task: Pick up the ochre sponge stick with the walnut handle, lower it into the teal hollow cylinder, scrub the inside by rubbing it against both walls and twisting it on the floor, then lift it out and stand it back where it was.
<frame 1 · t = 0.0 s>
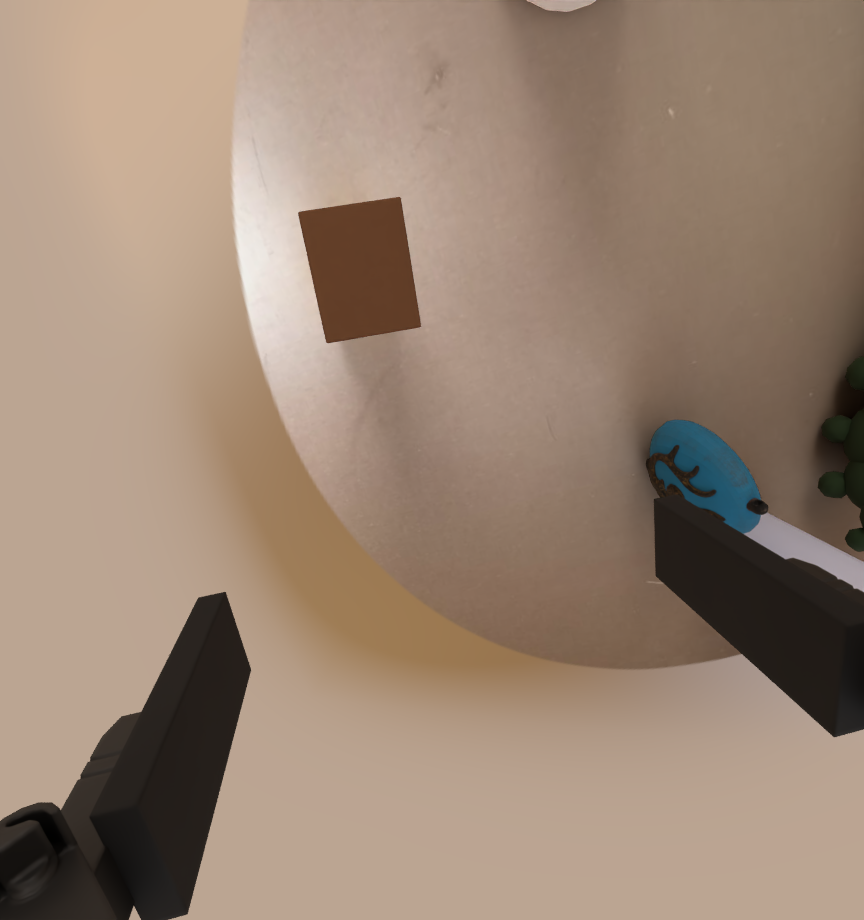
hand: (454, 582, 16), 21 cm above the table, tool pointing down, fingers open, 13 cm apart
spray bottle: (731, 536, 42), on the table
sponge: (357, 281, 32), on the table
ornament: (661, 459, 39), on the table
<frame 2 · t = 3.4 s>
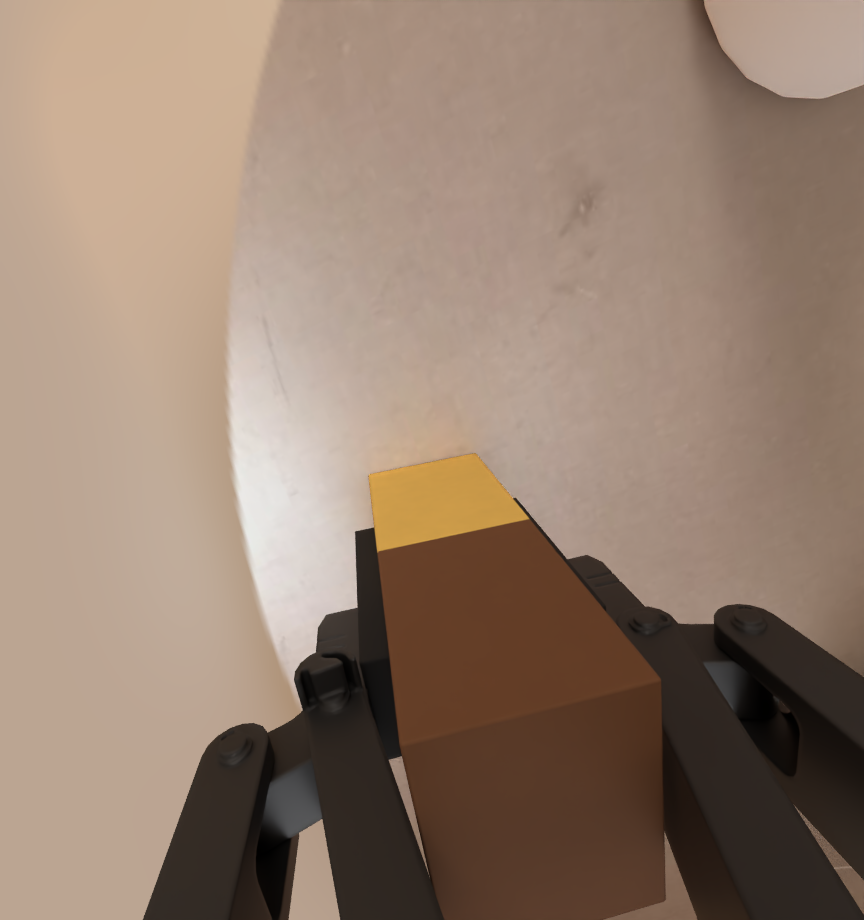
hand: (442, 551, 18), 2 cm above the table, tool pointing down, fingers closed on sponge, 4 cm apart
sponge: (433, 524, 20), on the table, touching gripper
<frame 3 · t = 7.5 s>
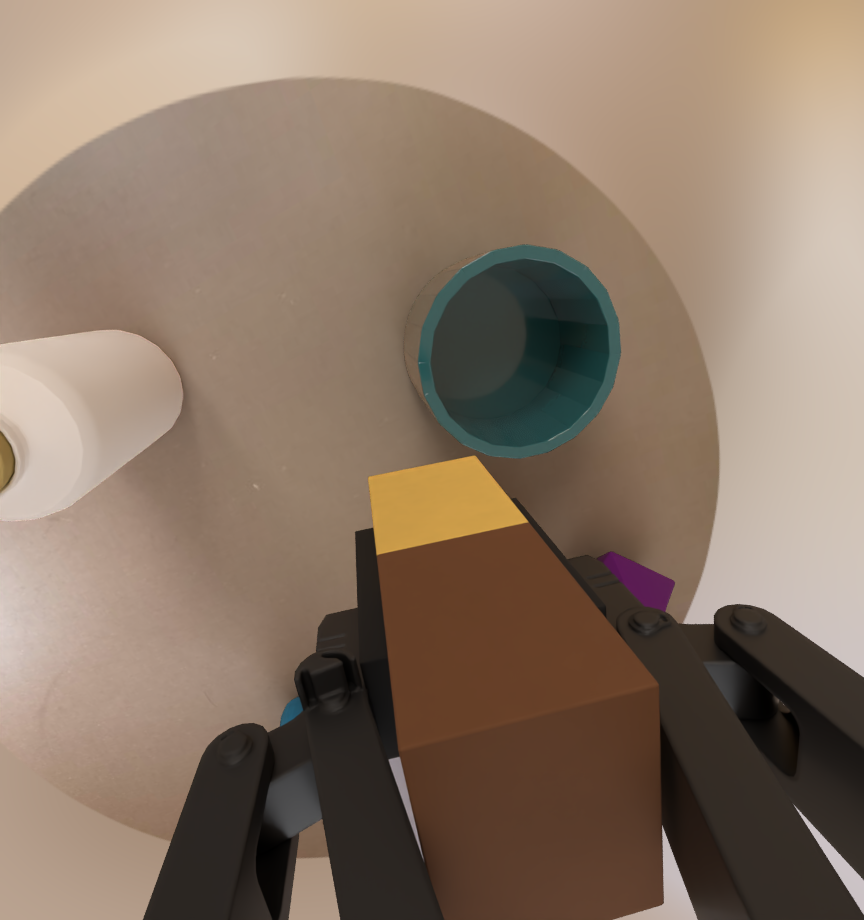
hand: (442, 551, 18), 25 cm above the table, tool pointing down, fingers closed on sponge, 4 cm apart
white plastic cylinder: (127, 386, 38), on the table
spray bottle: (395, 756, 52), on the table
perfume bottle: (602, 581, 49), on the table
teal hollow cylinder: (485, 345, 41), on the table
sponge: (432, 527, 20), point 23 cm above the table, touching gripper
ornament: (315, 709, 49), on the table
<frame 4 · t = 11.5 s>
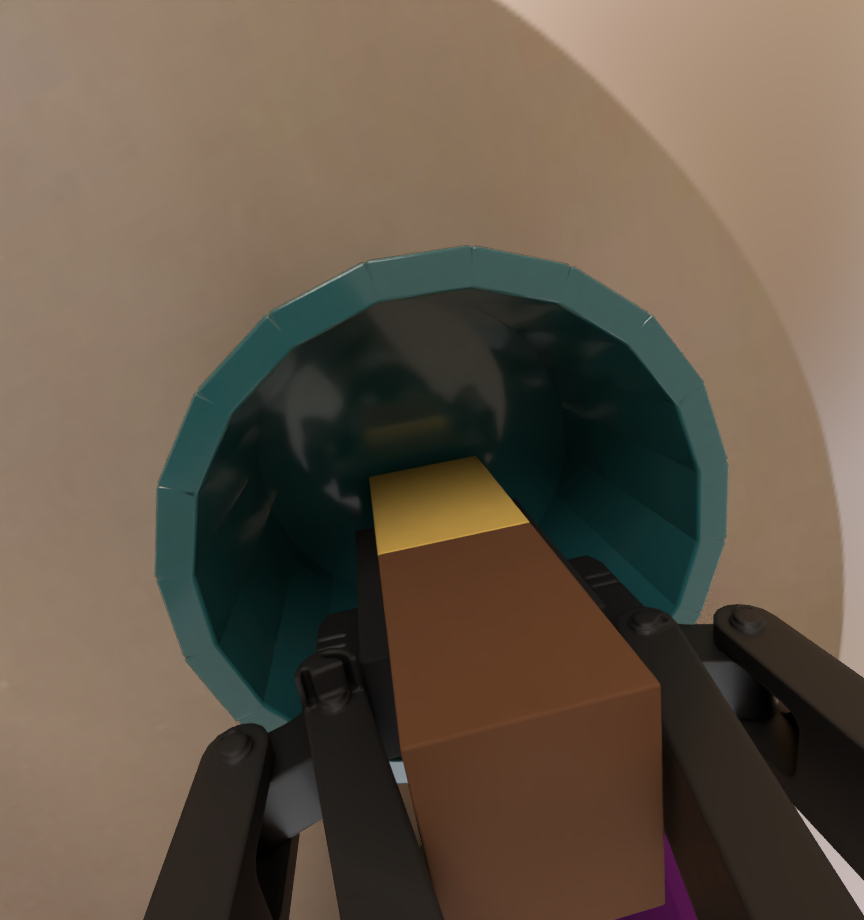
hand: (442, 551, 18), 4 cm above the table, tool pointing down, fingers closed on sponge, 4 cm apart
perfume bottle: (627, 835, 29), on the table
teal hollow cylinder: (415, 450, 20), on the table
sponge: (433, 527, 20), point 1 cm above the table, touching gripper
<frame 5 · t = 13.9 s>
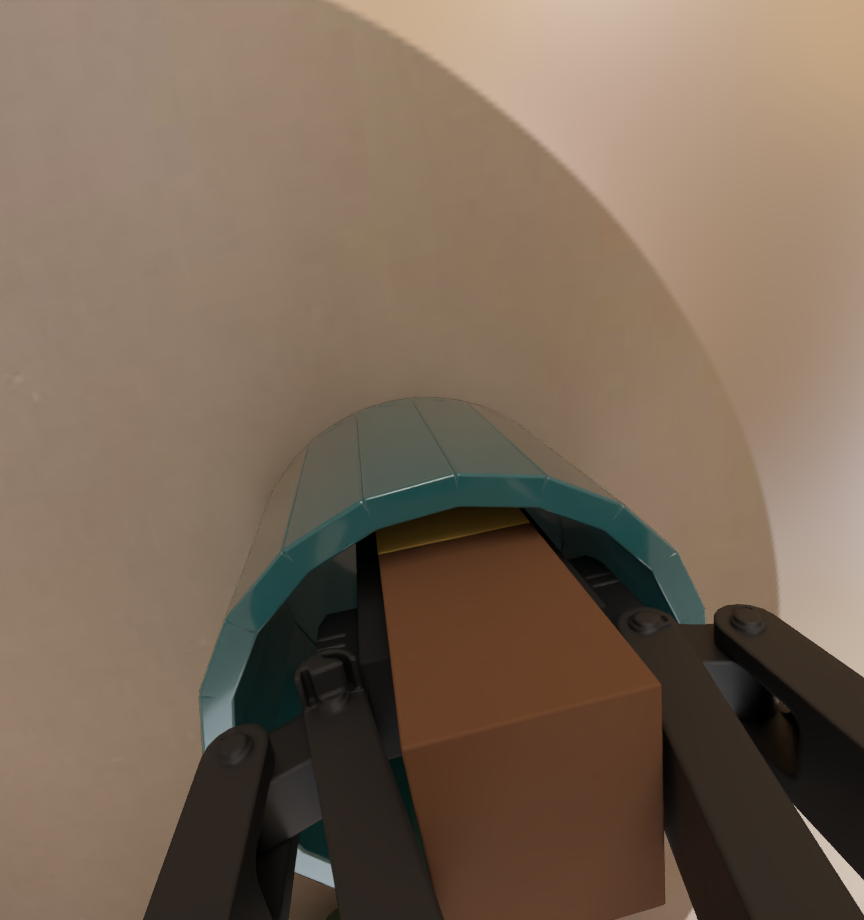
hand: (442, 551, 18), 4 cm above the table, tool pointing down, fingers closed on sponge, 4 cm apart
teal hollow cylinder: (423, 551, 22), on the table
sponge: (433, 527, 20), point 2 cm above the table, touching gripper
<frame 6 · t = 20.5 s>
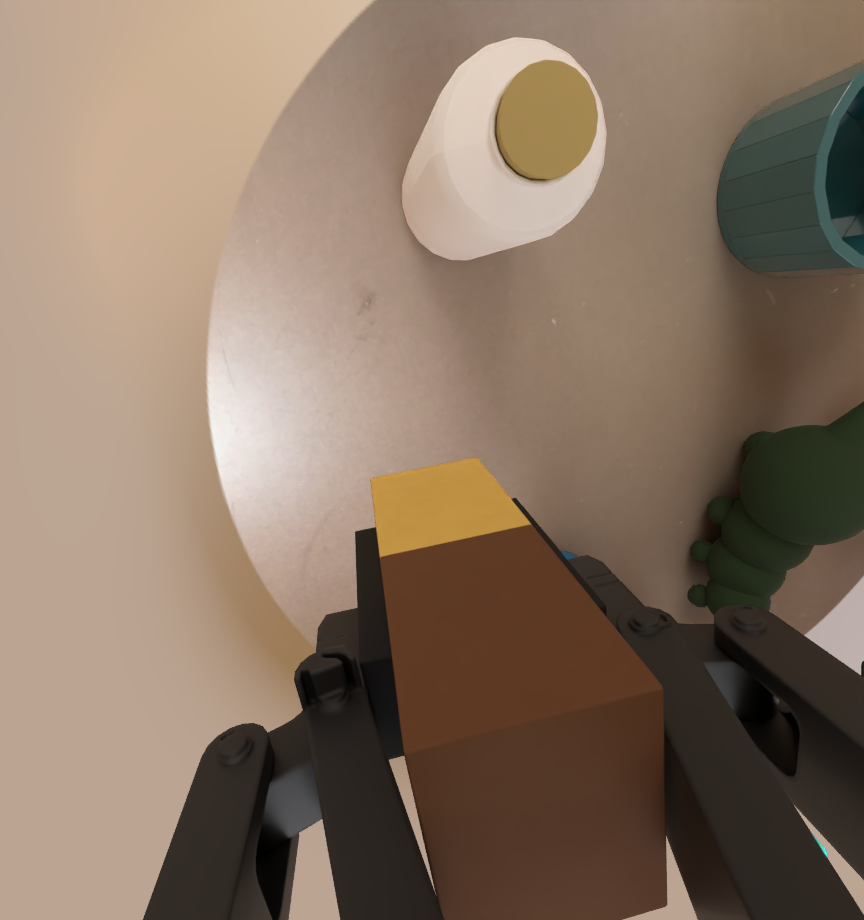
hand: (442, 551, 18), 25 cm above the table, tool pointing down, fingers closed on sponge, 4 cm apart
white plastic cylinder: (457, 200, 38), on the table
toy figurine: (729, 511, 49), on the table
teal hollow cylinder: (793, 188, 41), on the table
sponge: (434, 528, 20), point 23 cm above the table, touching gripper
when the fingers open (2 cm above the table, at t = 26.0 s): sponge stays where it is, on the table.
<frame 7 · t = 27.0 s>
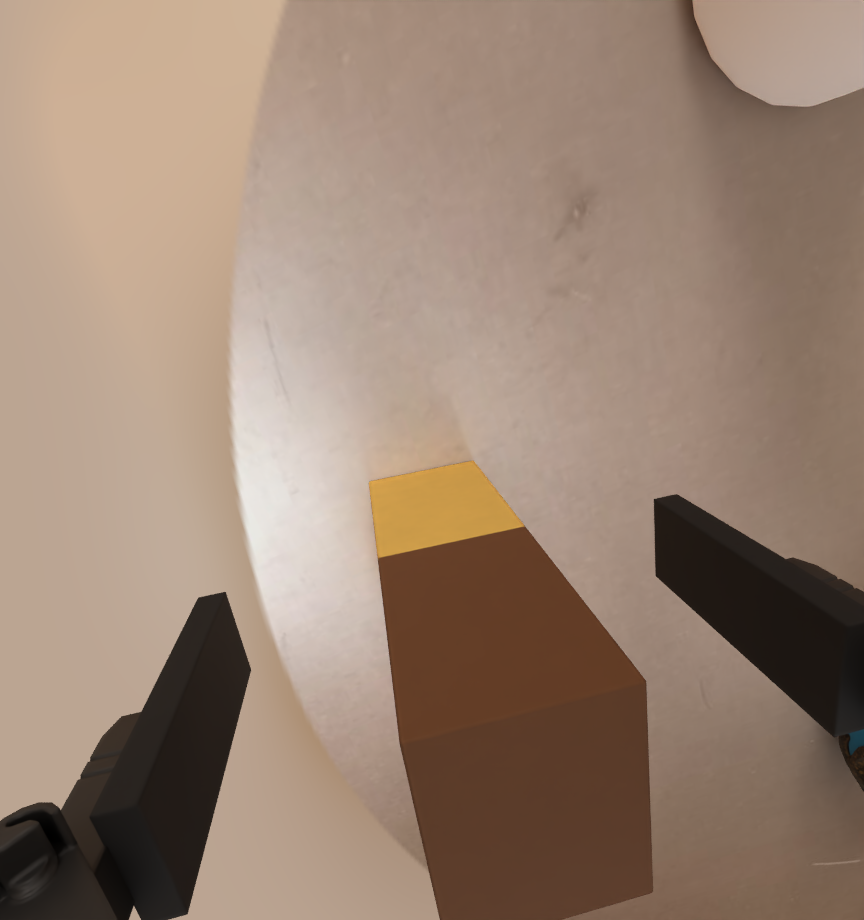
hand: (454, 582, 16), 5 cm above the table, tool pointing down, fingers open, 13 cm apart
sponge: (432, 530, 20), on the table
ornament: (852, 717, 27), on the table
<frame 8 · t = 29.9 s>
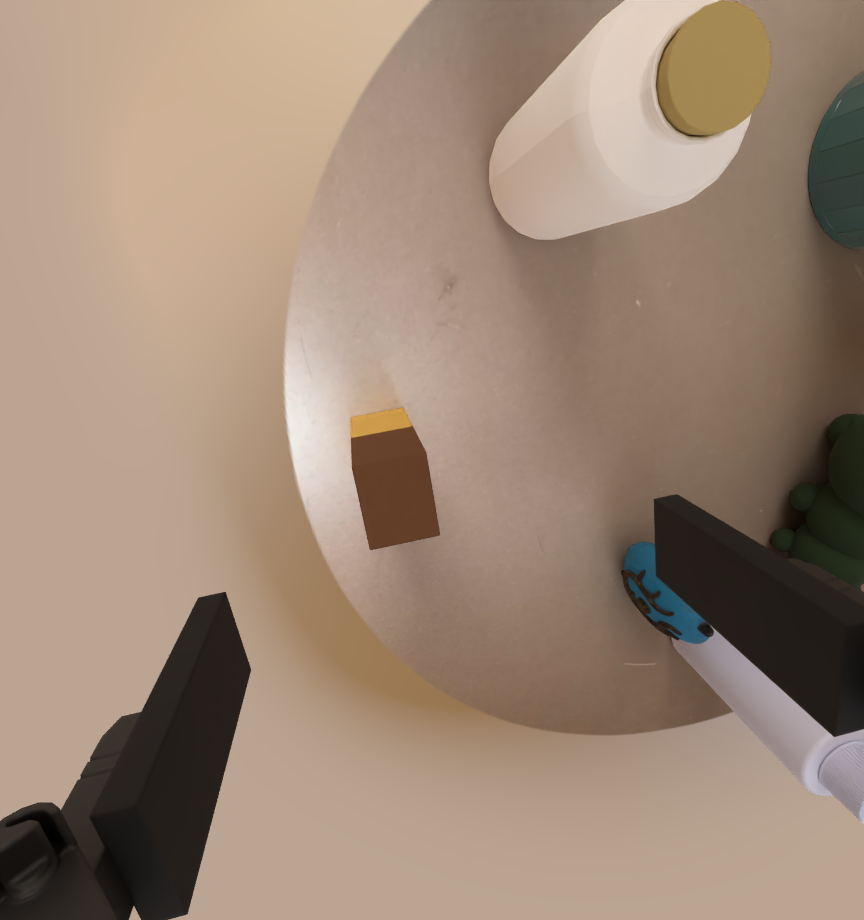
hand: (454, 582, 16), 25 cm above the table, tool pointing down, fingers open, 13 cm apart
white plastic cylinder: (542, 177, 36), on the table
spray bottle: (696, 625, 50), on the table
toy figurine: (810, 498, 47), on the table
sponge: (383, 444, 40), on the table
ornament: (635, 565, 47), on the table
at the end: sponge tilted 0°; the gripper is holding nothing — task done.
